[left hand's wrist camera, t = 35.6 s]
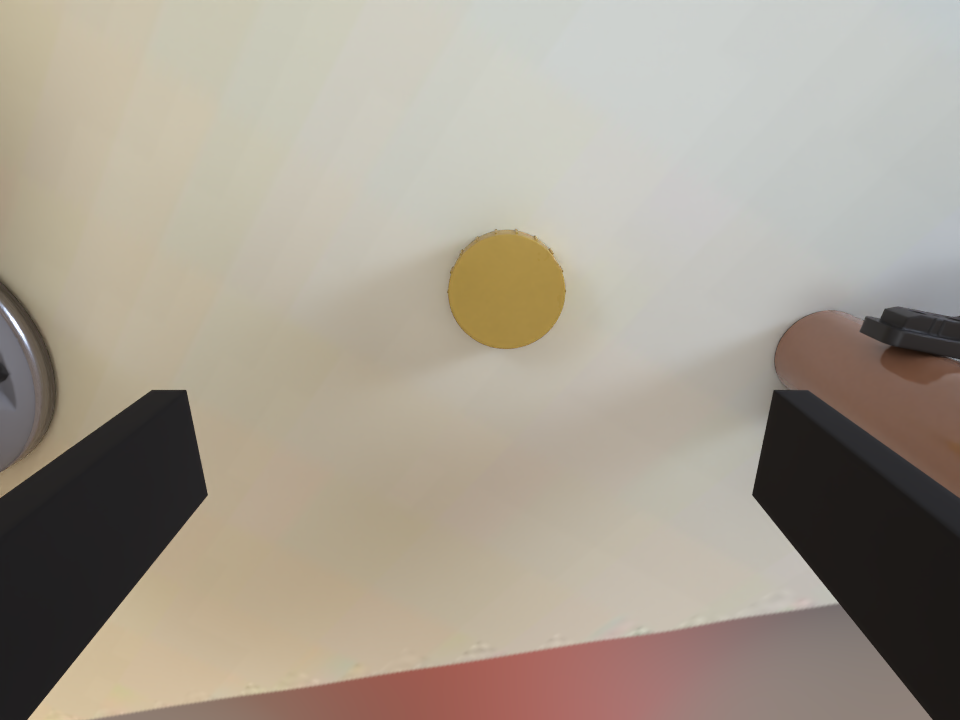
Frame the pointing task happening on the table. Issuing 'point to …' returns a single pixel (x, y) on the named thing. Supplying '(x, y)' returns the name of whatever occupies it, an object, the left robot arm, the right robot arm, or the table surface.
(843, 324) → the brown cylinder
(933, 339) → the right robot arm
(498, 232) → the lid
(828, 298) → the table surface
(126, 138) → the table surface
